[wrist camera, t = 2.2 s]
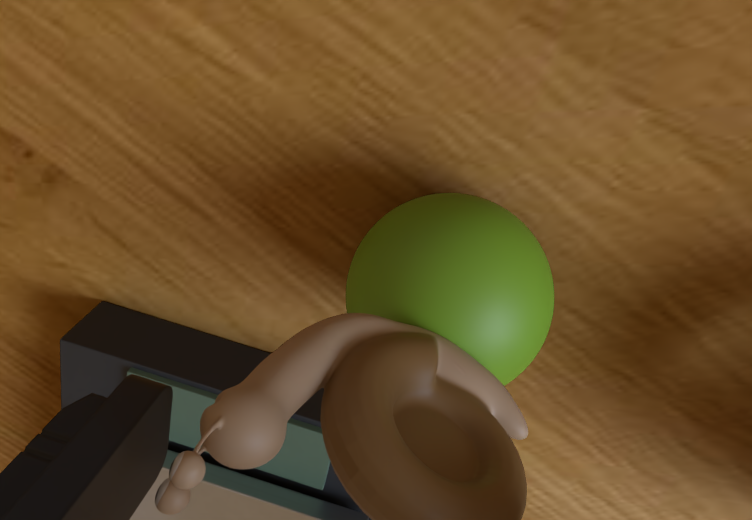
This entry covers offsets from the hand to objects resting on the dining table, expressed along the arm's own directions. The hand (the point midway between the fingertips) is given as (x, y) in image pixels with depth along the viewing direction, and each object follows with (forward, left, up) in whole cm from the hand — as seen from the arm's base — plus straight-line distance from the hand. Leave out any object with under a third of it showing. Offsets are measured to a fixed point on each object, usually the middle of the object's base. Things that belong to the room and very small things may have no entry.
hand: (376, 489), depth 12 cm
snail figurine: (0, 0, -10) cm, 10 cm away
